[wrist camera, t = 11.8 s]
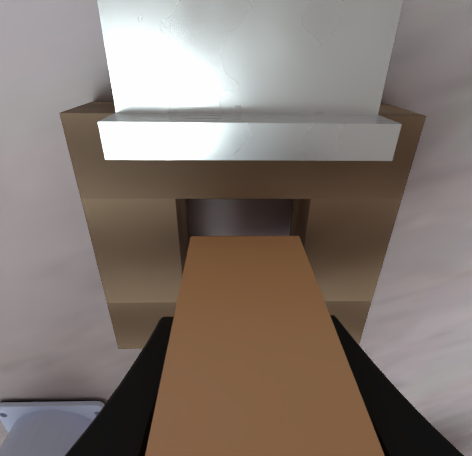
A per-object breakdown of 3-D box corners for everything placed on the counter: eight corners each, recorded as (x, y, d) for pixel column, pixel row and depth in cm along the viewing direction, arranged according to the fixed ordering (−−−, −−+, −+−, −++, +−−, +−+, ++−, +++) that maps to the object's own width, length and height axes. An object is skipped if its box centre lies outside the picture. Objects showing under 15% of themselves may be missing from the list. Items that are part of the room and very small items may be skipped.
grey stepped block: (354, 136, 11) (392, 160, 9) (133, 135, 11) (105, 159, 9) (407, -141, 8) (496, -238, 5) (92, -151, 8) (23, -255, 5)
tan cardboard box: (289, 315, 13) (355, 597, 6) (196, 316, 13) (161, 603, 6) (299, 235, 11) (408, 516, 5) (190, 236, 11) (130, 523, 4)
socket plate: (340, 307, 20) (358, 346, 17) (133, 308, 19) (118, 348, 17) (388, 104, 14) (425, 115, 11) (92, 101, 13) (59, 112, 11)
